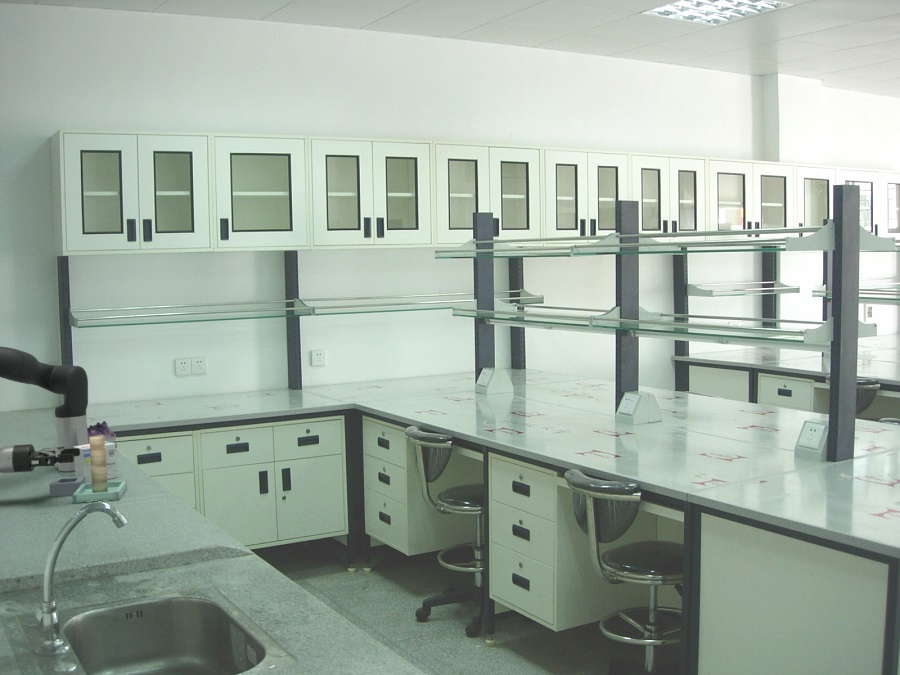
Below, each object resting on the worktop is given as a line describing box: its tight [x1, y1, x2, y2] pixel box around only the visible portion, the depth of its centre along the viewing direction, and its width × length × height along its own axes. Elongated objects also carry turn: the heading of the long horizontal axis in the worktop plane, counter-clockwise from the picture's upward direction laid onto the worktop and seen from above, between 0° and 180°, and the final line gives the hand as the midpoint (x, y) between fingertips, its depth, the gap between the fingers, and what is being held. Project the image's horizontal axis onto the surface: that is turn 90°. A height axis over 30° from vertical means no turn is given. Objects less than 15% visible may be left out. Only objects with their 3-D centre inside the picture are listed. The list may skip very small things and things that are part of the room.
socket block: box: [49, 476, 86, 498], centre depth 259 cm, size 8×8×4 cm
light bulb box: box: [73, 441, 118, 483], centre depth 274 cm, size 11×7×11 cm, turn 134°
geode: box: [87, 420, 118, 449], centre depth 323 cm, size 20×12×10 cm, turn 26°
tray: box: [71, 479, 128, 504], centre depth 254 cm, size 14×12×2 cm
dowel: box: [89, 435, 108, 493], centre depth 253 cm, size 4×4×16 cm
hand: (76, 454), depth 252 cm, fingers open, 8 cm apart
